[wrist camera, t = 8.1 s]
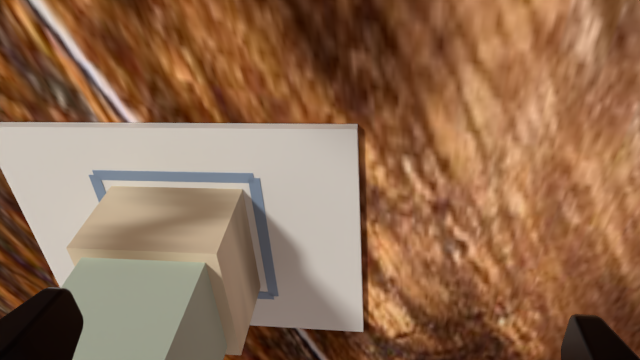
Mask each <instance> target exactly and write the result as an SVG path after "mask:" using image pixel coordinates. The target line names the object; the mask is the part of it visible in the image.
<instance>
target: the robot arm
mask: <svg viewBox="0 0 640 360" xmlns="http://www.w3.org/2000/svg"><path fill="white" fill-rule="evenodd" d="M83 324H84V320H83V315H82V313H81V311H80V309H79V307H78V305H77V303H76V301H75V299H74V297H73V295H72V293H71V291H70V290H68V289H66V288H46V289H44V290H42V291H40V292H39V293H37V294H36V295H34V296H33V297H32V298H30V299H29V300H27V301H26V302H24V303H23V304H21V305H20V306H19V307H17V308H16V309H14V310H13V311H11V312H10V313H8V314H7V315H6V316H4V317H3V318H1V319H0V360H72V359H73V356H74V353H75V350H76V347H77V344H78V341H79V339H80V336H81V333H82V330H83ZM561 359H562V360H640V358H639V357H638V356H637V355H636V354H635V353H634V352H633V351H632V350H631V349H630V348H629V347H628V346H627V345H626V344H625V342H624V341H623V340H622V339H621V338H620V337H619V336H618V335H617V334H616V333H615V332H614V331H613V330H612V329H611V328H610V327H609V326H608V325H607V324H606V322H605V321H604V320H603V319H602V318H600V317H598V316H596V315H583V314H574V315H572V316H571V317H570V319H569V322H568V326H567V329H566V332H565V336H564V339H563V342H562V346H561Z"/></svg>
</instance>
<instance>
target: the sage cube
mask: <svg viewBox="0 0 640 360" xmlns="http://www.w3.org/2000/svg"><path fill="white" fill-rule="evenodd" d="M61 288H66V289H68V290H70V291H71V293H72V295H73V297H74V299H75V301H76V303H77V305H78V307H79V309H80V311H81V313H82V315H83V320H84V324H83V330H82V333H81V336H80V339H79V341H78V344H77V347H76V350H75V353H74V356H73V359H72V360H223V359H224V356H225V353H226V349H227V343H226V340H225V336H224V332H223V328H222V324H221V321H220V317H219V313H218V309H217V305H216V302H215V298H214V294H213V290H212V286H211V283H210V279H209V275H208V271H207V267H206V264H205V263H204V262H180V261H157V260H134V259H110V258H87V257H81V259H80V260H79V262H78V263H77V265H76V266H75V268H74V269H73V271H72V272H71V274H70V275H69V276H68V278H67V279H66V281H65V282H64V284H63V285H62V287H61Z"/></svg>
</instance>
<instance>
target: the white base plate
mask: <svg viewBox="0 0 640 360" xmlns="http://www.w3.org/2000/svg"><path fill="white" fill-rule="evenodd" d="M0 167H1V169H2V171H3V173H4V175H5V177H6V179H7V182H8V184H9V186H10V188H11V190H12V192H13V194H14V196H15V198H16V200H17V202H18V204H19V206H20V208H21V210H22V212H23V214H24V216H25V218H26V220H27V222H28V224H29V226H30V228H31V230H32V232H33V234H34V236H35V238H36V240H37V242H38V244H39V246H40V248H41V250H42V252H43V254H44V256H45V258H46V260H47V262H48V264H49V266H50V268H51V270H52V272H53V274H54V276H55V278H56V280H57V282H58V284H59V286H60V288H61V287H62V285H63V284H64V282H65V281H66V279H67V278H68V276H69V275H70V274H71V272H72V271H73V269H74V268H75V266H74V264H73V262H72V260H71V257H70V255H69V253H68V251H67V249H66V247H67V246H68V245H69V243H70V242H71V241H72V239H73V238H74V236H75V235H76V234H77V232H78V231H79V230H80V228H81V227H82V225H83V224H84V223H85V221H86V220H87V219H88V217H89V216H90V215H91V213H92V212H93V210H94V209H95V208H96V206H97V205H98V204H99V202H100V201H101V199H102V198H103V197H104V195H105V194H106V193H107V191H108V190H109V189H110V187H111V186H129V187H172V188H216V189H242V190H243V195H244V200H245V206H246V211H247V216H248V222H249V227H250V232H251V238H252V243H253V248H254V254H255V259H256V265H257V270H258V275H259V281H260V286H261V287H260V291H259V294H258V298H257V301H256V304H255V308H254V311H253V315H252V318H251V322H250V325H253V326H270V327H287V328H304V329H321V330H338V331H355V332H363V328H364V320H363V285H362V251H361V217H360V183H359V149H358V124H256V123H75V122H0Z"/></svg>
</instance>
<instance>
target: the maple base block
mask: <svg viewBox="0 0 640 360" xmlns="http://www.w3.org/2000/svg"><path fill="white" fill-rule="evenodd" d="M66 249H67V251H68V253H69V255H70V257H71V260H72V262H73V264H74V266H76V265H77V263H78V262H79V260H80V259H81V257H87V258H110V259H134V260H157V261H180V262H204V263H205V264H206V267H207V271H208V275H209V279H210V283H211V286H212V290H213V294H214V298H215V302H216V305H217V309H218V313H219V317H220V321H221V324H222V328H223V332H224V336H225V340H226V343H227V349H226V353H225V354H231V355H241V353H242V350H243V346H244V343H245V339H246V336H247V332H248V329H249V325H250V322H251V318H252V315H253V311H254V308H255V304H256V301H257V298H258V294H259V291H260V287H261V286H260V281H259V275H258V270H257V265H256V259H255V254H254V248H253V243H252V238H251V232H250V227H249V222H248V216H247V211H246V206H245V200H244V195H243V190H242V189H216V188H172V187H129V186H111V187H110V189H109V190H108V191H107V193H106V194H105V195H104V197H103V198H102V199H101V201H100V202H99V204H98V205H97V206H96V208H95V209H94V210H93V212H92V213H91V215H90V216H89V217H88V219H87V220H86V221H85V223H84V224H83V225H82V227H81V228H80V230H79V231H78V232H77V234H76V235H75V236H74V238H73V239H72V241H71V242H70V243H69V245H68V246H67V247H66Z"/></svg>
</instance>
